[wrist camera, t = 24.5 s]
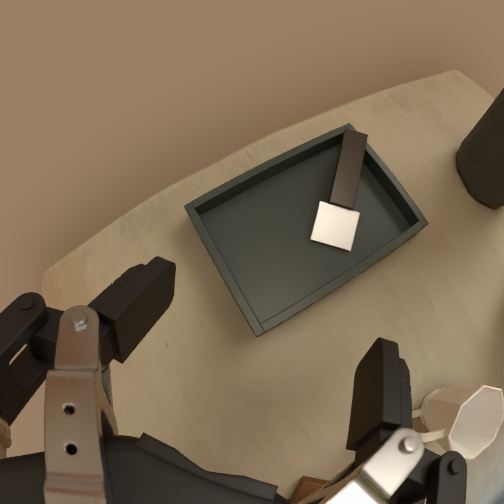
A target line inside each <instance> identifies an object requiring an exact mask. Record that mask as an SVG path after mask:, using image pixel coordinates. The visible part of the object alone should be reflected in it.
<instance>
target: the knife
mask: <svg viewBox="0 0 504 504" xmlns="http://www.w3.org/2000/svg"><path fill="white" fill-rule="evenodd" d="M367 137H368V135H366V134H363V133H360V132H357V131H353V130H350V129H347V128H345V130H344V133H343V136H342V141H341V146H340V151H339V155H338V160H337V165H336V169H335V174H334V178H333V182H332V187H331V191H330V195H329V199H328V203H326V202H322V201H320V203H319V207H318V211H317V215H316V218H315V222H314V226H313V230H312V234H311V238H310V240H312V241H315V242H319V243H322V244H326V245H329V246H333V247H336V248H340V249H343V250H347V251H351V248H352V244H353V240H354V236H355V232H356V228H357V223H358V219H359V215H360V212H356V211H353V210H352V209H353V208H354V204H355V199H356V195H357V190H358V185H359V180H360V175H361V170H362V165H363V160H364V154H365V148H366V143H367Z"/></svg>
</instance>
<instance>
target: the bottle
mask: <svg viewBox="0 0 504 504" xmlns="http://www.w3.org/2000/svg"><path fill="white" fill-rule="evenodd" d="M457 164H458V170H459V172H460V174H461V176H462V178H463V180H464V182H465V184H466V186H467V188H468V190H469V191H470V192H471V193H472V195H473V196H474V197H475V198H476V199H478V200H480V201H481V202H483V203H485V204H487V205H488V206H490V207H493V208H497V207H500V206H503V205H504V88H503V90H502V91H501V92H500V94H499V95H498V97H497V98H496V99H495V101H494V102H493V103H492V105H491V106H490V107H489V109H488V110H487V111H486V113H485V114H484V115H483V117H482V118H481V119H480V120H479V122H478V123H477V124H476V125H475V127H474V128H473V129H472V131H471V132H470V133H469V134H468V135H467V137H466V138H465V139H464V140H463V142H462V143H461V146H460V149H459V152H458V155H457Z"/></svg>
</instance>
